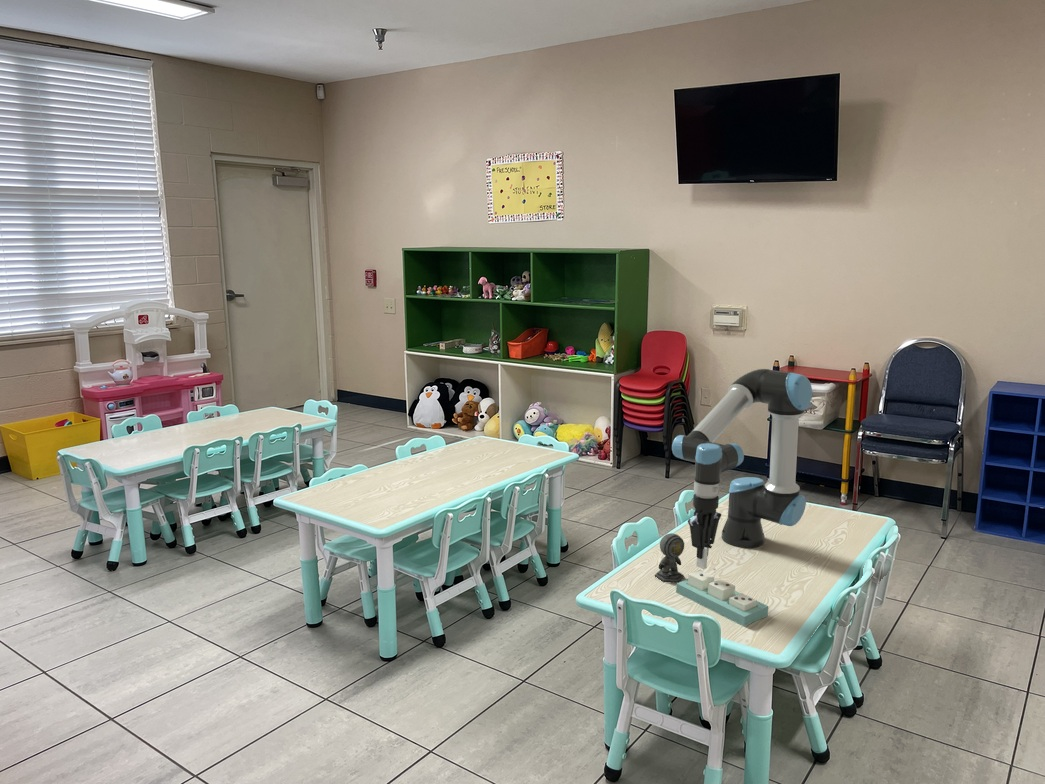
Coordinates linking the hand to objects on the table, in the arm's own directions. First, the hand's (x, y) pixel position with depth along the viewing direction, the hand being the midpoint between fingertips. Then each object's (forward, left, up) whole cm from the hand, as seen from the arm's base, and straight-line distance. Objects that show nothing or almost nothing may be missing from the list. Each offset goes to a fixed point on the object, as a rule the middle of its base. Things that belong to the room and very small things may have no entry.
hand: (701, 567), depth 240 cm
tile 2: (+8, 0, -7) cm, 11 cm away
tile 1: (0, 0, -7) cm, 7 cm away
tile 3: (+16, 0, -8) cm, 18 cm away
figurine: (-14, +1, -9) cm, 17 cm away
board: (+8, 0, -9) cm, 12 cm away
